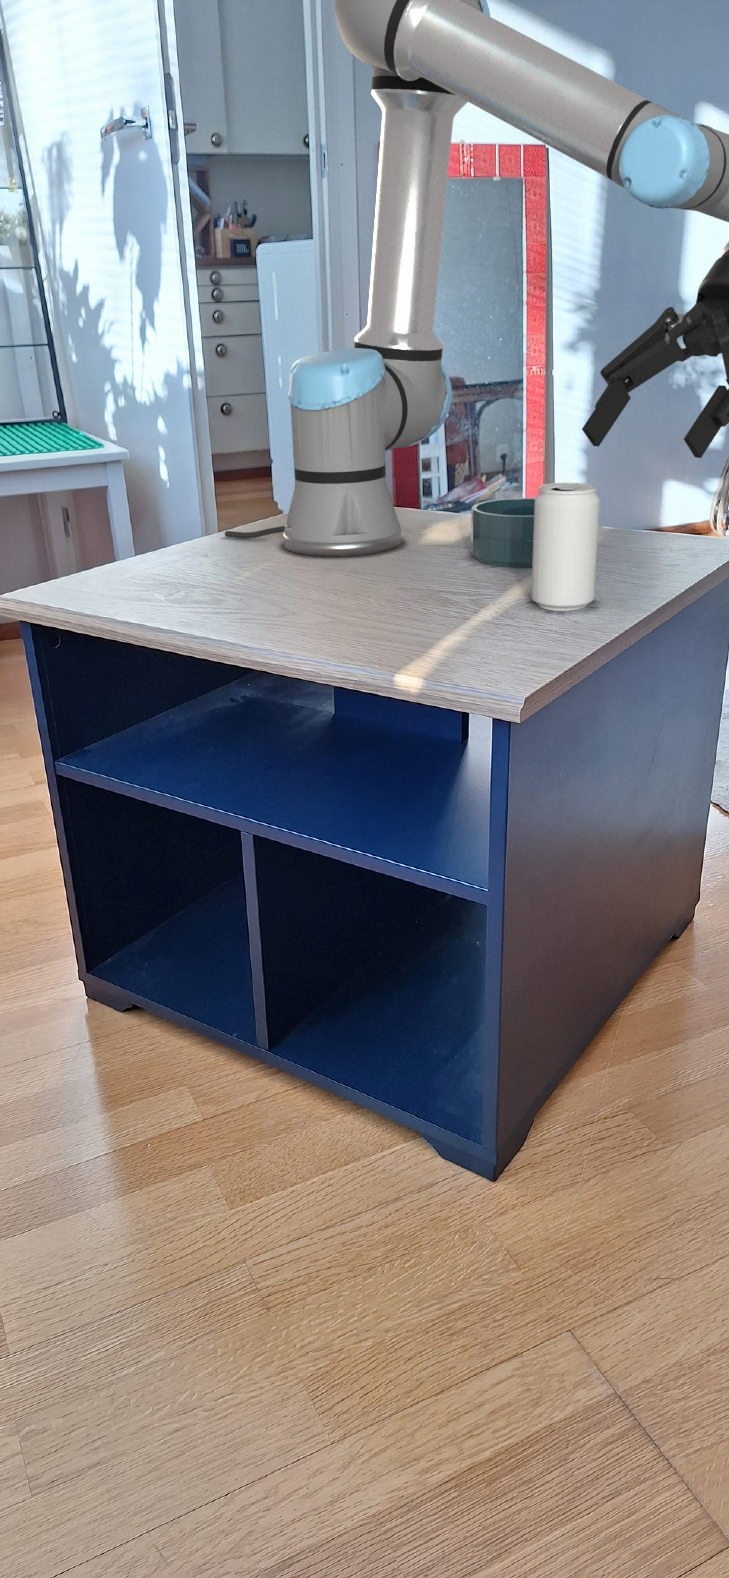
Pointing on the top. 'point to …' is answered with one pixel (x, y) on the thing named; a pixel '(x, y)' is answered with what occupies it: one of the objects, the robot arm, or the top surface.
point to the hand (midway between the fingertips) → (638, 443)
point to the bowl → (503, 532)
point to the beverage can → (565, 546)
